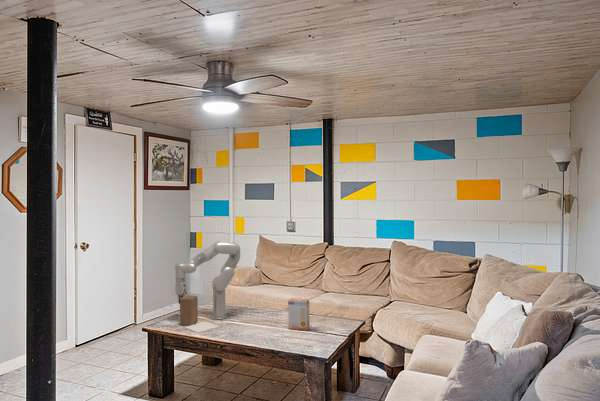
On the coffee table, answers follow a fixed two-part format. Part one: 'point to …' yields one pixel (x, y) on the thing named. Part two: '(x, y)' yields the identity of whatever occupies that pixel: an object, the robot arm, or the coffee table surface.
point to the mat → (202, 327)
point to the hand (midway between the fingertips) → (181, 303)
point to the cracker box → (298, 314)
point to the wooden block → (188, 310)
